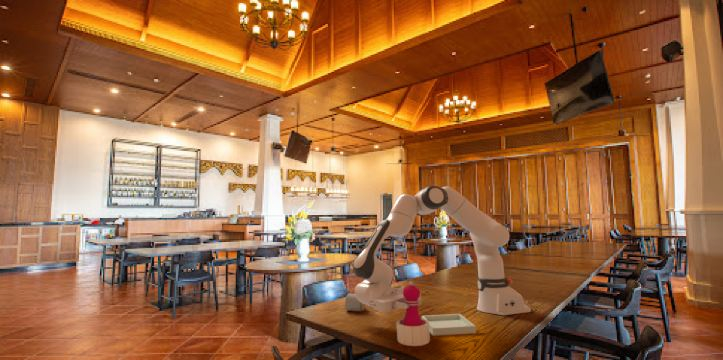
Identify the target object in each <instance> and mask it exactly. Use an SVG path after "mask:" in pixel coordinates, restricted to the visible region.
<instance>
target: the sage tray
mask: <svg viewBox="0 0 723 360" xmlns="http://www.w3.org/2000/svg"><path fill="white" fill-rule="evenodd" d="M421 318H422V319H425V320H427V321H428V322H429V332H430V335H432V336H433V337H434V336H451V335H466V334H468V335H470V334H477V326H476V325H475V324H474V323H473V322H471V321H470V320H469V319H467V318H466V317H465V316H464V315H462V314H460V313H450V314H449V313H448V314H431V315H421Z"/></svg>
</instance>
